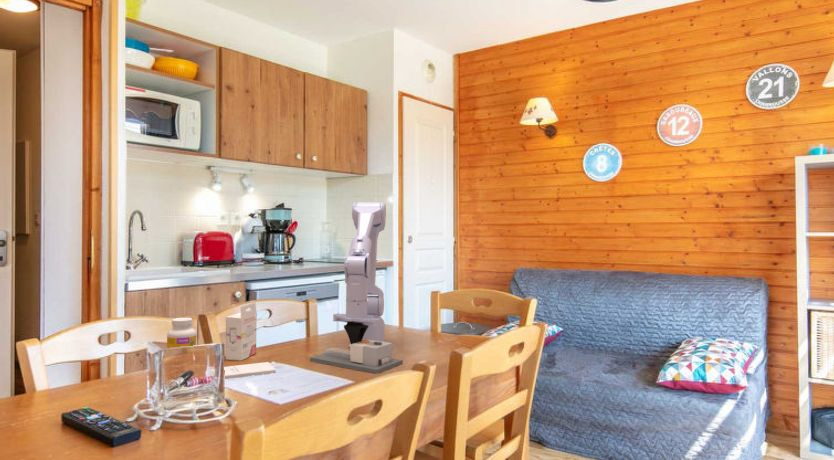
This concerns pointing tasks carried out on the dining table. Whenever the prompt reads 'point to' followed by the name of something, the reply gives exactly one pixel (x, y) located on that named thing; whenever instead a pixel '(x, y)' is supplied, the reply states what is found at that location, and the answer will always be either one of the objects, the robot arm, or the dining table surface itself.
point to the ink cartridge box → (241, 333)
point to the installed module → (376, 352)
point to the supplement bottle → (181, 333)
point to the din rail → (346, 355)
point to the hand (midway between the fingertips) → (355, 350)
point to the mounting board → (354, 363)
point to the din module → (359, 350)
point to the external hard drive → (248, 370)
